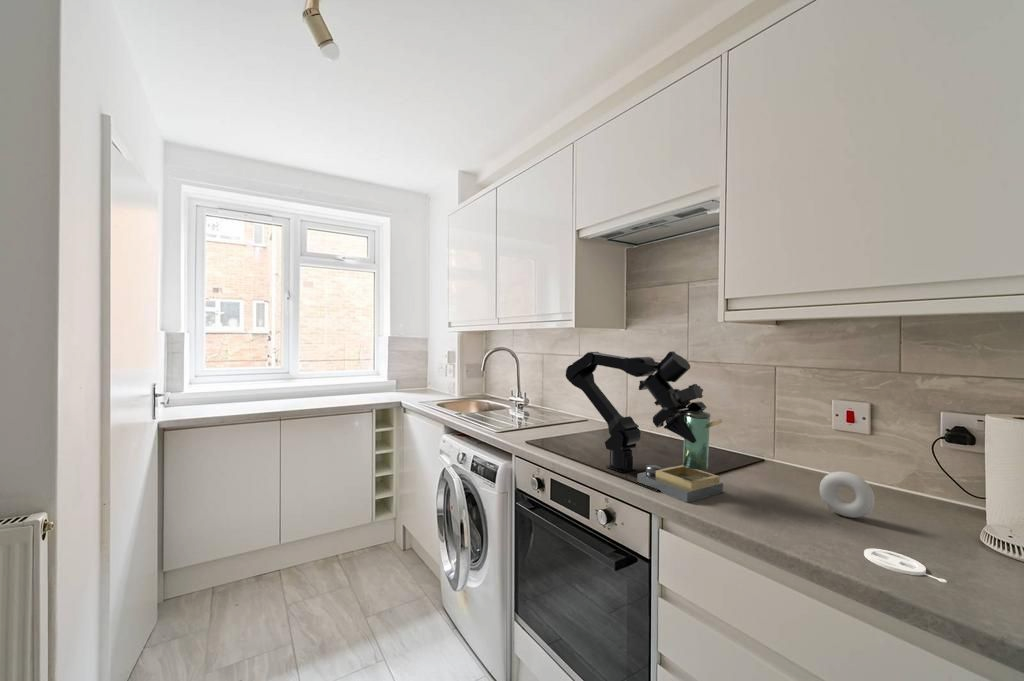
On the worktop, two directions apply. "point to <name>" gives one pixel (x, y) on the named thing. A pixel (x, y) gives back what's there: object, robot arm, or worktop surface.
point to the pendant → (896, 562)
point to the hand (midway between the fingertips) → (701, 440)
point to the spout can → (697, 440)
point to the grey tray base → (681, 482)
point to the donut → (856, 484)
